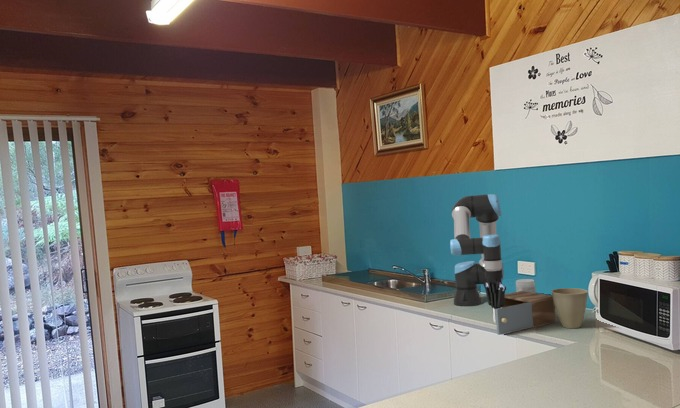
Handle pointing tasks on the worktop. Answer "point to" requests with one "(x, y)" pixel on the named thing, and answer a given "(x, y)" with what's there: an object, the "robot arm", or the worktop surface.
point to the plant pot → (570, 306)
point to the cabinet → (534, 306)
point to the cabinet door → (514, 318)
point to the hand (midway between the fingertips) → (497, 322)
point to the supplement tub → (525, 285)
